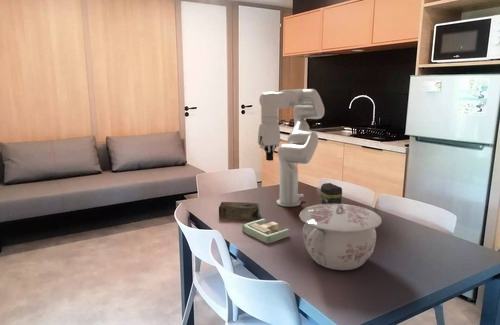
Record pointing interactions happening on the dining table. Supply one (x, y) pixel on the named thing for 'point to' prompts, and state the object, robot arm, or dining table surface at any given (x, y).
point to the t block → (266, 227)
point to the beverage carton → (239, 210)
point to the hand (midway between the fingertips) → (269, 160)
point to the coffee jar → (330, 194)
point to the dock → (263, 236)
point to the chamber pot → (339, 234)
